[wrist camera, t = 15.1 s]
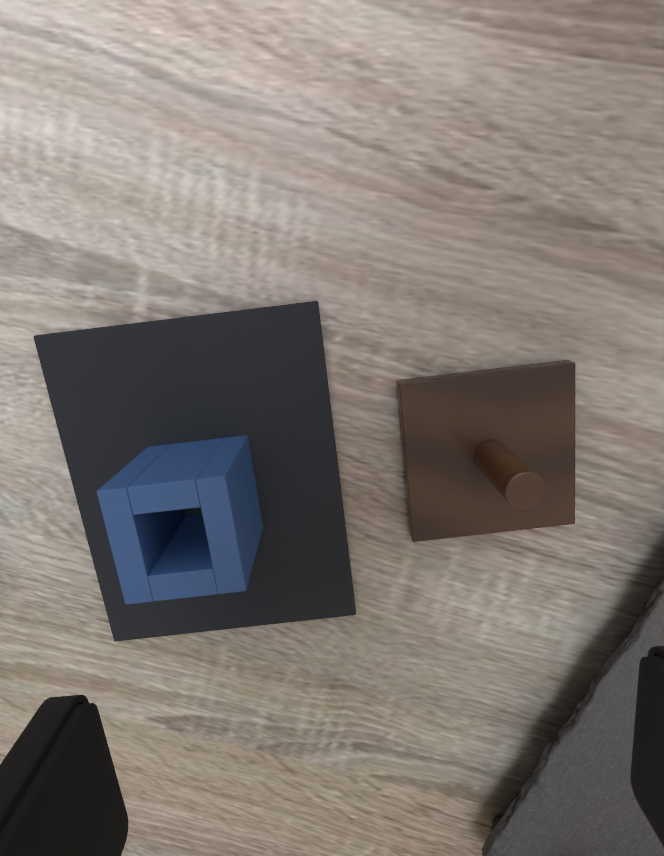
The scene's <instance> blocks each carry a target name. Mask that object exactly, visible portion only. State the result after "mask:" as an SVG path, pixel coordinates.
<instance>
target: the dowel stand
mask: <svg viewBox="0 0 664 856" xmlns="http://www.w3.org/2000/svg"><path fill="white" fill-rule="evenodd" d="M397 390H398V401H399V413H400V424H401V436H402V447H403V459H404V470H405V482H406V493H407V505H408V516H409V528H410V536H411V539H412V541H413V542H417V541H425V540H434V539H443V538H452V537H461V536H470V535H479V534H487V533H496V532H505V531H514V530H523V529H532V528H541V527H549V526H558V525H567V524H574V523H575V362H572V361H569V360H563V361H555V362H547V363H538V364H530V365H521V366H513V367H505V368H496V369H488V370H479V371H471V372H463V373H454V374H446V375H437V376H429V377H421V378H412V379H404V380H398V381H397Z"/></svg>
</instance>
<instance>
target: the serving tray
mask: <svg viewBox="0 0 664 856" xmlns="http://www.w3.org/2000/svg"><path fill="white" fill-rule="evenodd" d="M655 646H664V577H663V578H662V579H661V580H660V582H659V583H658V584H657V585H656V586H655V588H654V590H653V591H652V593H651V595H650V597H649V599H648V601H647V603H646V605H645V607H644V609H643V611H642V612H641V614H640V615H639V617H638V619H637V621H636V623H635V624H634V626H633V628H632V630H631V631H630V633H629V634H628V635H627V636H626V637H625V638H624V640H623V641H622V642H621V643H620V644H619V645H618V647H617V648H616V649H615V650H614V651H613V652H612V653H611V654H610V656H609V657H608V658H607V659H606V661H605V662H604V664H603V666H602V668H601V669H600V670H599V671H598V672H597V673H596V674H595V675H594V677H593V679H592V681H591V683H590V686H589V688H588V690H587V692H586V693H585V695H584V696H583V698H582V699H581V700H580V701H579V702H578V704H577V706H576V708H575V710H574V711H573V713H572V715H571V716H570V718H569V719H568V720H567V722H566V723H565V724H564V725H563V726H562V727H561V728H560V729H559V730H558V732H557V734H556V736H555V737H554V738H553V739H552V740H550V741H549V742H548V743H547V745H546V746H545V748H544V750H543V752H542V754H541V756H540V760H539V763H538V765H537V766H536V768H535V769H534V773H533V776H532V777H531V778H530V779H528V780H527V781H526V782H525V783H524V785H523V786H522V787H521V790H520V794H519V795H518V796H517V797H516V798H514V800H513V801H512V803H511V804H510V806H509V807H508V809H507V810H506V812H505V813H504V814H499V815H496V816H495V817H494V818H493V820H492V825H491V834H490V835H489V837H488V838H487V840H486V842H485V844H484V846H483V848H482V855H483V856H664V847H663V845H662V844H661V842H660V840H659V838H658V837H657V835H656V833H655V832H654V830H653V828H652V827H651V825H650V823H649V822H648V820H647V818H646V816H645V815H644V813H643V811H642V810H641V808H640V806H639V804H638V802H637V800H636V798H635V796H634V793H633V790H632V786H631V781H630V774H631V762H632V749H633V737H634V724H635V712H636V700H637V687H638V675H639V663H640V660H641V658H642V657H647V656H648V651H649V650H650V648H651V647H655Z"/></svg>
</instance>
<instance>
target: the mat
mask: <svg viewBox="0 0 664 856" xmlns="http://www.w3.org/2000/svg"><path fill="white" fill-rule="evenodd" d="M34 340H35V344H36V348H37V352H38V355H39V359H40V363H41V367H42V370H43V374H44V378H45V382H46V385H47V389H48V393H49V397H50V401H51V404H52V408H53V412H54V416H55V419H56V423H57V427H58V431H59V434H60V438H61V442H62V446H63V449H64V453H65V457H66V461H67V464H68V468H69V472H70V476H71V480H72V483H73V487H74V491H75V495H76V498H77V502H78V506H79V510H80V513H81V517H82V521H83V525H84V528H85V532H86V536H87V540H88V543H89V547H90V551H91V555H92V558H93V562H94V566H95V570H96V574H97V577H98V581H99V585H100V589H101V592H102V596H103V600H104V604H105V607H106V611H107V615H108V619H109V622H110V626H111V630H112V634H113V637H114V641H122V640H131V639H141V638H150V637H159V636H168V635H177V634H186V633H195V632H204V631H213V630H222V629H231V628H240V627H249V626H258V625H267V624H276V623H286V622H295V621H304V620H313V619H322V618H331V617H340V616H349V615H356V609H355V601H354V593H353V585H352V577H351V568H350V560H349V552H348V544H347V536H346V528H345V519H344V511H343V503H342V495H341V487H340V478H339V470H338V462H337V454H336V446H335V438H334V429H333V421H332V413H331V405H330V397H329V389H328V380H327V372H326V364H325V356H324V348H323V339H322V331H321V323H320V315H319V307H318V301H313V302H305V303H296V304H288V305H280V306H272V307H264V308H256V309H248V310H239V311H231V312H223V313H215V314H207V315H199V316H190V317H182V318H174V319H166V320H158V321H150V322H142V323H133V324H125V325H117V326H109V327H101V328H93V329H85V330H76V331H68V332H60V333H52V334H44V335H36V336H34ZM244 435H248V440H249V446H250V452H251V458H252V464H253V469H254V475H255V481H256V487H257V493H258V499H259V505H260V511H261V517H262V523H263V530H262V533H261V537H260V541H259V544H258V548H257V552H256V556H255V559H254V563H253V567H252V571H251V574H250V578H249V582H248V586H247V589H246V591H241V592H232V593H223V594H214V595H205V596H196V597H187V598H178V599H170V600H161V601H152V602H143V603H134V604H125V601H124V597H123V593H122V589H121V585H120V581H119V578H118V574H117V570H116V566H115V562H114V558H113V554H112V550H111V546H110V542H109V538H108V534H107V530H106V526H105V523H104V519H103V515H102V511H101V507H100V503H99V499H98V495H97V490H99V489H100V488H101V487H102V486H103V485H104V484H106V483H107V482H108V481H109V480H110V479H111V478H112V477H114V476H115V475H116V474H117V473H118V472H119V471H120V470H122V469H123V468H124V467H125V466H126V465H127V464H129V463H130V462H131V461H132V460H133V459H134V458H135V457H137V456H138V455H139V454H140V453H141V452H142V451H144V450H145V449H146V448H147V447H150V446H159V445H167V444H170V445H171V444H176V443H185V442H193V441H202V440H210V439H219V438H227V437H235V436H244ZM184 511H185V516H186V515H195V514H202V510H201V507H197V508H189V509H184Z"/></svg>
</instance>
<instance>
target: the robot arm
mask: <svg viewBox="0 0 664 856" xmlns="http://www.w3.org/2000/svg"><path fill="white" fill-rule="evenodd" d="M630 781H631V786H632V790H633V793H634V796H635V798H636V800H637V802H638V804H639V806H640V808H641V810H642V811H643V813H644V815H645V816H646V818H647V820H648V822H649V823H650V825H651V827H652V828H653V830H654V832H655V833H656V835H657V837H658V838H659V840H660V842H661V844H662V845H663V847H664V646H655V647H651V648H650V650H649V651H648V656H647V657H642V658H641V660H640V663H639V675H638V687H637V700H636V712H635V724H634V737H633V749H632V762H631V774H630ZM127 833H128V816H127V812H126V809H125V805H124V801H123V798H122V794H121V791H120V787H119V783H118V780H117V776H116V773H115V769H114V765H113V762H112V758H111V755H110V751H109V747H108V744H107V740H106V737H105V733H104V729H103V726H102V722H101V719H100V715H99V711H98V708H97V706H96V705H95V704H94V703H89V702H88V699H87V698H86V697H85V696H84V695H74V696H62V697H51V698H48V699H46V700H45V701H44V702H43V703H42V705H41V706H40V707H39V709H38V710H37V712H36V713H35V715H34V716H33V718H32V719H31V721H30V722H29V723H28V725H27V726H26V728H25V729H24V731H23V732H22V734H21V735H20V737H19V738H18V740H17V741H16V743H15V744H14V745H13V747H12V748H11V750H10V751H9V753H8V754H7V756H6V757H5V759H4V760H3V762H2V763H1V765H0V856H121V854H122V851H123V848H124V845H125V842H126V838H127Z"/></svg>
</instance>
